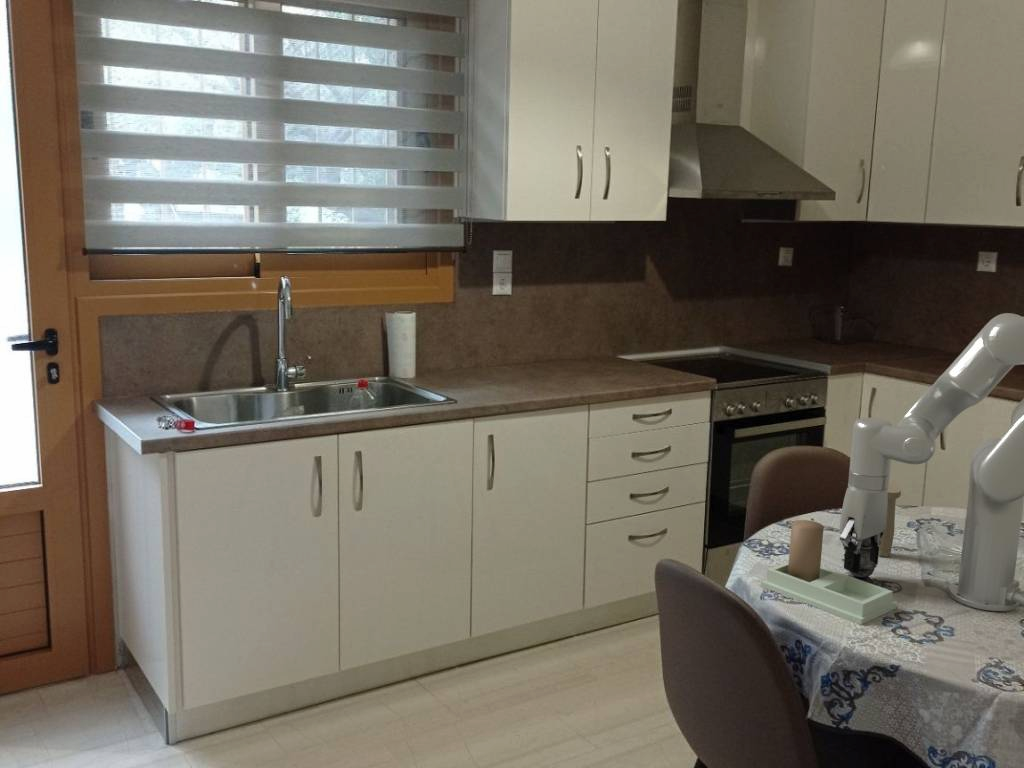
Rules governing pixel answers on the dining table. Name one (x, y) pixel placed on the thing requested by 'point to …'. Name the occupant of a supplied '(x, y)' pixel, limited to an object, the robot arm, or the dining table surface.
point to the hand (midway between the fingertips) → (860, 566)
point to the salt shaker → (864, 562)
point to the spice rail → (824, 580)
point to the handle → (889, 521)
